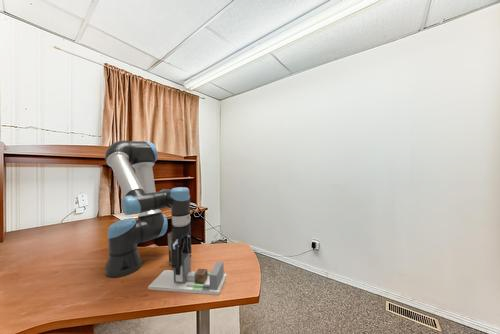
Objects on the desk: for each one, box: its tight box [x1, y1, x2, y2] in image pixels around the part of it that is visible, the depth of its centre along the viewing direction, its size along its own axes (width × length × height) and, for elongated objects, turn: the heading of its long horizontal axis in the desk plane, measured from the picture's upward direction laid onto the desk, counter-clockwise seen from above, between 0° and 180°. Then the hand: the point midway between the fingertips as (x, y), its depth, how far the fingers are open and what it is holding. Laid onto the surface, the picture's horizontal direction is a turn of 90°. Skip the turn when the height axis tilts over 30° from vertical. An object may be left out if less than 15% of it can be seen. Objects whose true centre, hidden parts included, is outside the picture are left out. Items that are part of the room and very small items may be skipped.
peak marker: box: [195, 268, 209, 284], centre depth 84 cm, size 4×4×4 cm
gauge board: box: [148, 261, 227, 296], centre depth 85 cm, size 30×12×7 cm, turn 82°
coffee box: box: [167, 231, 192, 266], centre depth 101 cm, size 9×6×16 cm
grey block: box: [172, 253, 196, 283], centre depth 85 cm, size 9×6×10 cm, turn 82°
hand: (183, 276), depth 85 cm, fingers closed on grey block, 6 cm apart
